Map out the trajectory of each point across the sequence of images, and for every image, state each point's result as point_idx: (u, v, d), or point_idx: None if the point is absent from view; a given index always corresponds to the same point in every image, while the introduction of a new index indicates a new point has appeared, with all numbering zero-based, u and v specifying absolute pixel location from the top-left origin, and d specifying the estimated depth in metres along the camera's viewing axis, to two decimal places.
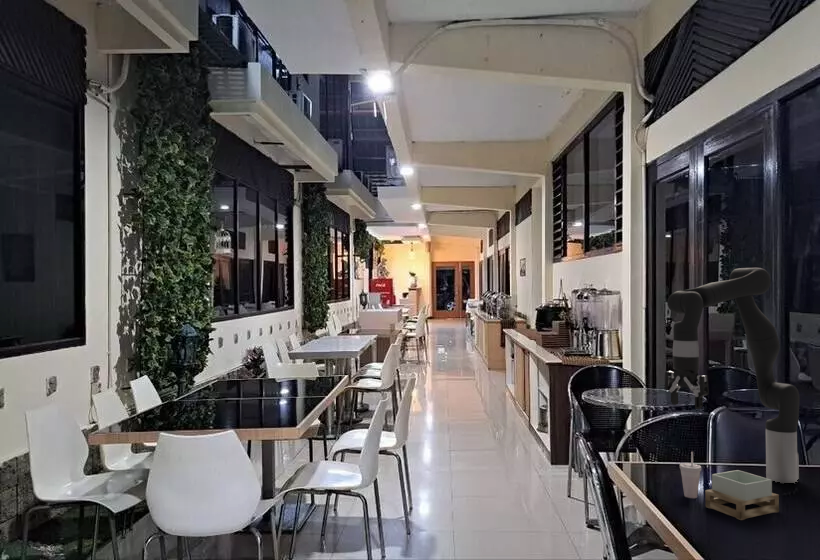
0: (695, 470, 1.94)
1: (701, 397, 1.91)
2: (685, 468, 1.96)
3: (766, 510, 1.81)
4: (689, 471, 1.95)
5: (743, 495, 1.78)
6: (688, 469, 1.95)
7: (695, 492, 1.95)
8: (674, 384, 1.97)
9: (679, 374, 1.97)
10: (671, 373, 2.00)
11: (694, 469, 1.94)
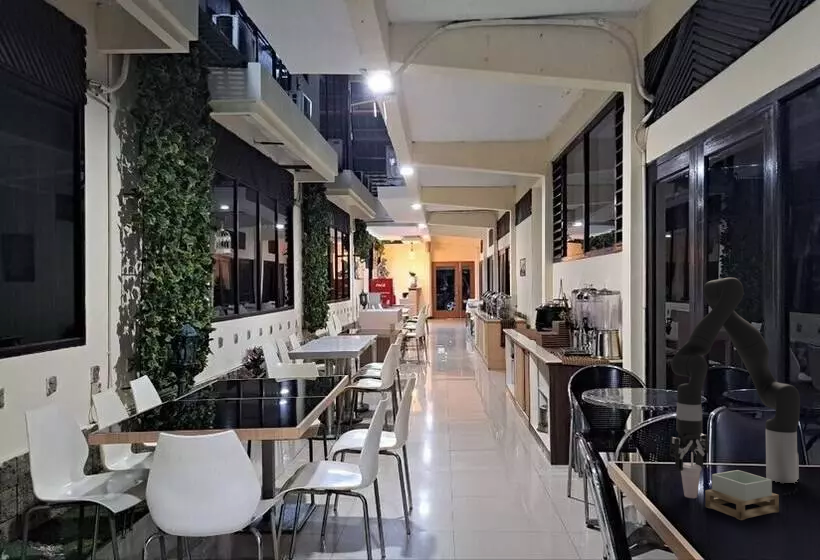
0: (695, 470, 1.94)
1: None
2: (685, 468, 1.96)
3: (766, 510, 1.81)
4: (689, 471, 1.95)
5: (743, 495, 1.78)
6: (688, 469, 1.95)
7: (695, 492, 1.95)
8: (686, 449, 1.95)
9: (688, 438, 1.96)
10: None
11: (694, 469, 1.94)
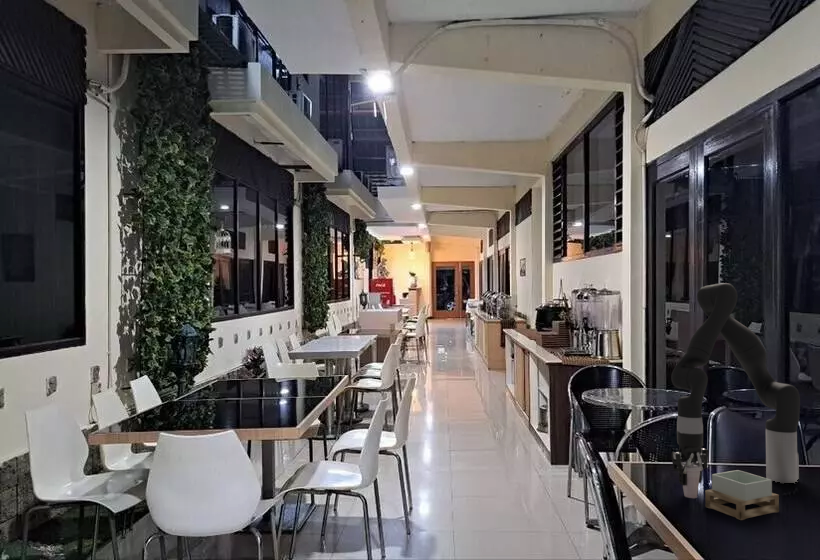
0: (695, 470, 1.94)
1: None
2: None
3: (766, 510, 1.81)
4: (689, 471, 1.95)
5: (743, 495, 1.78)
6: (688, 469, 1.95)
7: (695, 492, 1.95)
8: (689, 463, 1.95)
9: (689, 451, 1.96)
10: (679, 454, 1.95)
11: (694, 469, 1.94)
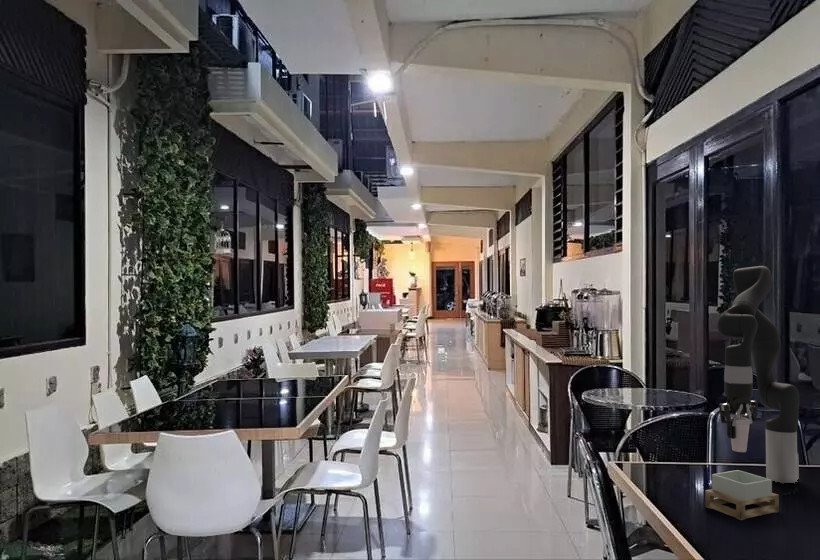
0: (745, 422, 1.83)
1: None
2: None
3: (766, 510, 1.81)
4: (738, 423, 1.84)
5: (743, 495, 1.78)
6: (737, 421, 1.84)
7: (744, 446, 1.84)
8: (738, 415, 1.84)
9: (738, 402, 1.85)
10: None
11: (743, 421, 1.83)
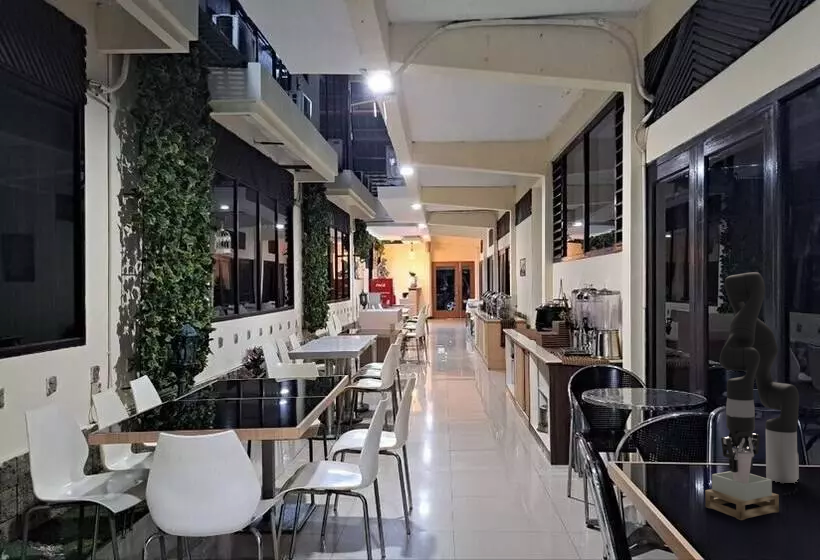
0: (747, 456, 1.83)
1: None
2: None
3: (766, 510, 1.81)
4: (740, 457, 1.83)
5: (743, 495, 1.78)
6: (739, 455, 1.83)
7: (746, 479, 1.84)
8: (740, 449, 1.83)
9: (740, 436, 1.84)
10: (730, 438, 1.83)
11: (746, 455, 1.83)
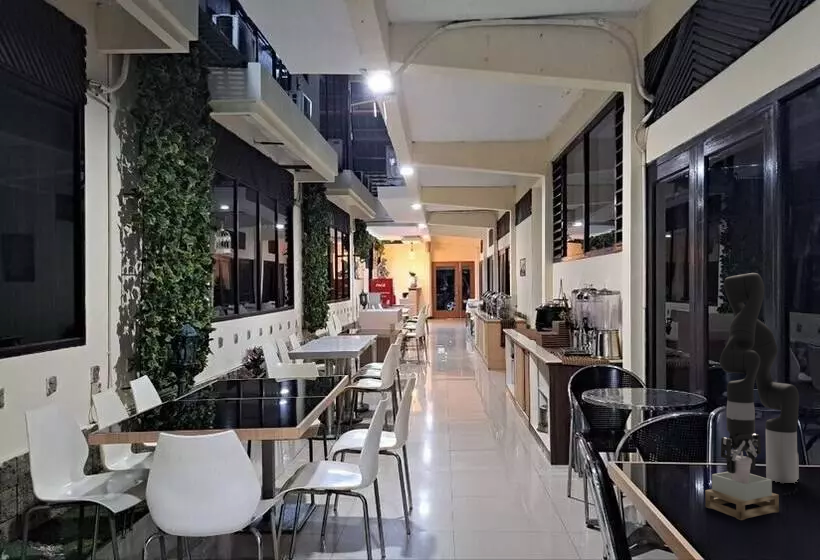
0: (746, 463, 1.82)
1: None
2: (735, 460, 1.83)
3: (766, 510, 1.81)
4: (739, 464, 1.83)
5: (743, 495, 1.78)
6: (738, 462, 1.83)
7: None
8: (739, 451, 1.83)
9: (740, 438, 1.84)
10: None
11: (745, 462, 1.82)
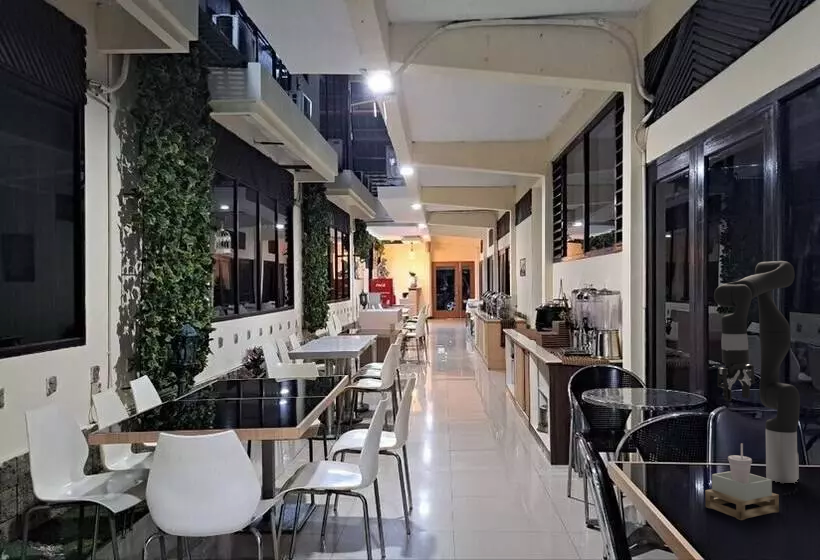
0: (746, 463, 1.82)
1: None
2: (735, 460, 1.83)
3: (766, 510, 1.81)
4: (739, 464, 1.83)
5: (743, 495, 1.78)
6: (738, 462, 1.83)
7: None
8: (734, 379, 1.93)
9: (735, 368, 1.94)
10: None
11: (745, 462, 1.82)
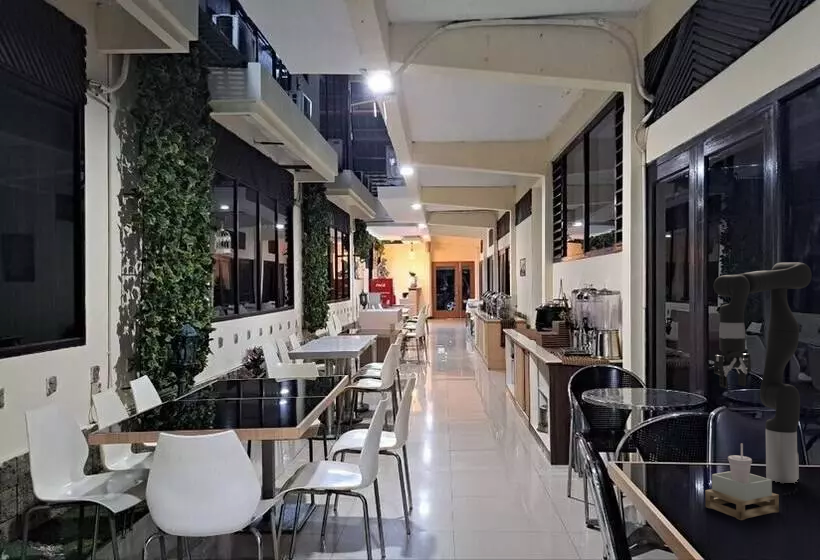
0: (746, 463, 1.82)
1: None
2: (735, 460, 1.83)
3: (766, 510, 1.81)
4: (739, 464, 1.83)
5: (743, 495, 1.78)
6: (738, 462, 1.83)
7: None
8: (730, 367, 1.99)
9: (732, 356, 2.00)
10: None
11: (745, 462, 1.82)
